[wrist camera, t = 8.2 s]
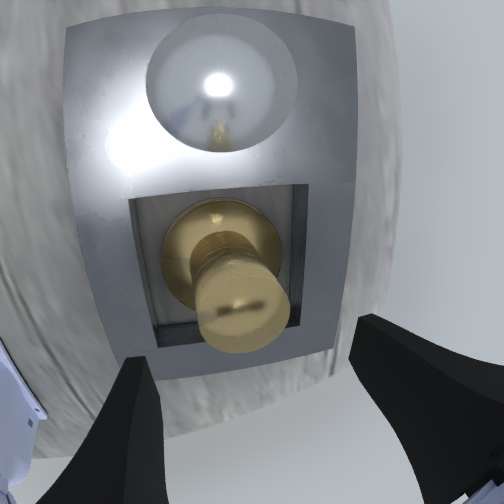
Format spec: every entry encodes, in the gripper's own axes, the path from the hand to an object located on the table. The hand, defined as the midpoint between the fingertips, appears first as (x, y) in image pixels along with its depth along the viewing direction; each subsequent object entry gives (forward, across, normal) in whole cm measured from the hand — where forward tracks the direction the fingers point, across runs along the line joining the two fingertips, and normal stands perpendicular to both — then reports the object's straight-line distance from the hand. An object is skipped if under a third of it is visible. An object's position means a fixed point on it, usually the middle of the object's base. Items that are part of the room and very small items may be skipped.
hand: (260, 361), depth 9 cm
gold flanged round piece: (+8, 0, 0) cm, 8 cm away
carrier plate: (+8, 0, -3) cm, 9 cm away
